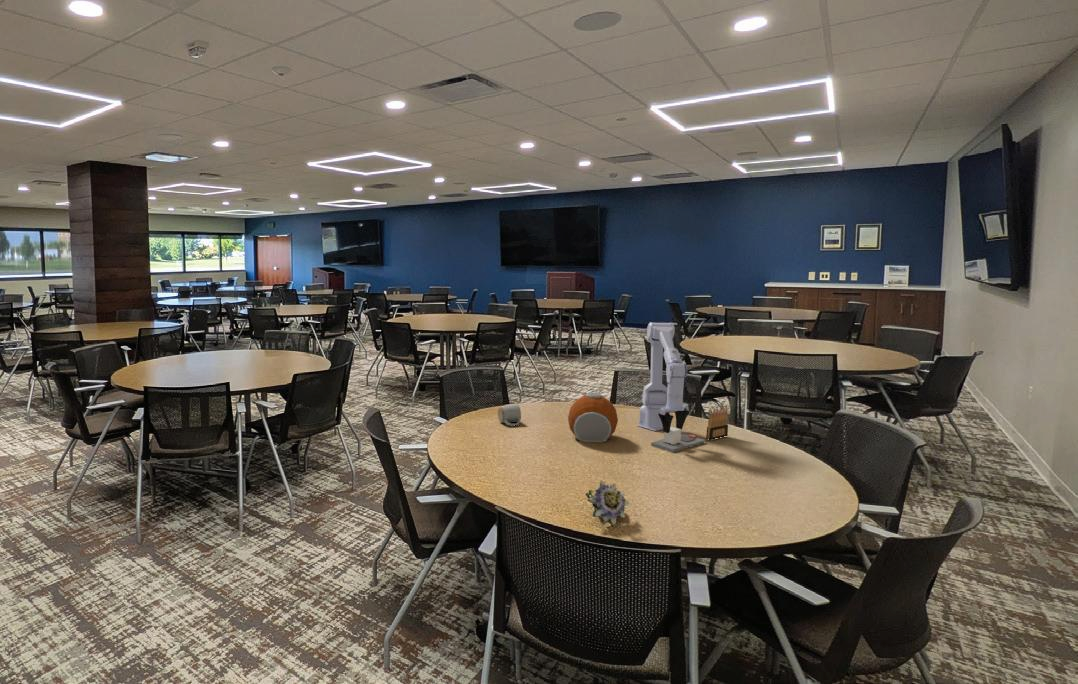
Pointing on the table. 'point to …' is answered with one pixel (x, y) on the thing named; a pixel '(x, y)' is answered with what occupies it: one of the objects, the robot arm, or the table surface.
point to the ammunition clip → (717, 424)
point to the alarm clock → (592, 418)
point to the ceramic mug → (509, 414)
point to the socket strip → (684, 443)
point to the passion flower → (608, 502)
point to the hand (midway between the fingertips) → (672, 430)
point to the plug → (672, 436)
